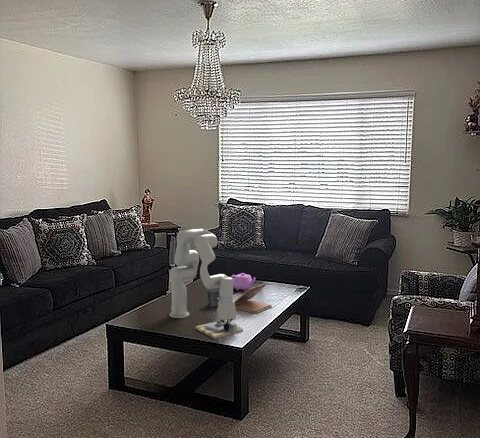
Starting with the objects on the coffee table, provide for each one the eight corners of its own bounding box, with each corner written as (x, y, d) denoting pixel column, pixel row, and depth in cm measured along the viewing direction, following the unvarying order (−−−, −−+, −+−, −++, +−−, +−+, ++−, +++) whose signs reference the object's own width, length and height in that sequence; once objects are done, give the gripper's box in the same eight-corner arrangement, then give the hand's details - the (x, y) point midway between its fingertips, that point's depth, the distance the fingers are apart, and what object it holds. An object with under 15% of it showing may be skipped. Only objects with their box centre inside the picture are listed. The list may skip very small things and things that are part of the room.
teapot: (228, 290, 389) (227, 273, 388) (234, 286, 401) (234, 270, 399) (252, 292, 382) (252, 276, 380) (258, 288, 393) (258, 272, 392)
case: (249, 301, 359) (249, 279, 357) (273, 307, 346) (273, 284, 344) (230, 308, 344) (230, 285, 342) (255, 314, 331) (255, 290, 329)
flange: (204, 327, 300) (204, 319, 299) (219, 322, 309) (219, 315, 308) (227, 335, 287) (227, 327, 286) (242, 329, 296) (242, 322, 295)
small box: (222, 303, 354) (222, 288, 353) (225, 306, 348) (225, 291, 347) (207, 305, 351) (207, 290, 349) (210, 307, 345) (210, 292, 343)
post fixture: (195, 328, 303) (195, 317, 302) (223, 322, 314) (223, 311, 313) (214, 338, 287) (214, 326, 286) (243, 331, 298) (243, 319, 297)
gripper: (215, 301, 283) (215, 333, 285) (241, 299, 287) (241, 331, 290) (211, 298, 290) (212, 329, 292) (237, 296, 294) (237, 326, 297)
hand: (226, 330), depth 291 cm, fingers closed
